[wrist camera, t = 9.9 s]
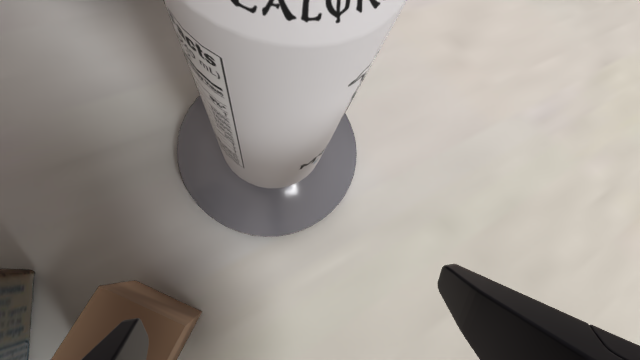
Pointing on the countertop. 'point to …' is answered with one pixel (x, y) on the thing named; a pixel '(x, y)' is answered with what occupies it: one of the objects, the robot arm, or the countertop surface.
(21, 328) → the beverage carton
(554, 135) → the countertop surface
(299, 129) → the energy drink can
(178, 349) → the walnut block
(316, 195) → the coaster
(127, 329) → the robot arm
